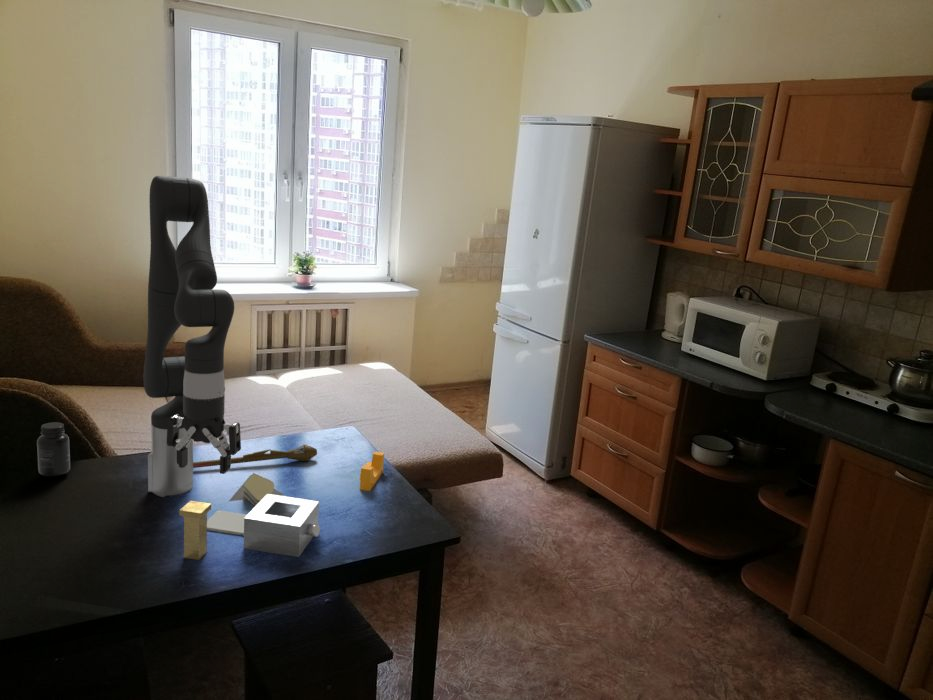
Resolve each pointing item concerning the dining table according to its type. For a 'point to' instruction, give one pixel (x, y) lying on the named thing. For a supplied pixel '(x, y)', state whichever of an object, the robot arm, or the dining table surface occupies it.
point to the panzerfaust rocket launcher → (267, 456)
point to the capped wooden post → (195, 529)
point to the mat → (227, 522)
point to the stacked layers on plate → (255, 489)
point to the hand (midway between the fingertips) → (203, 469)
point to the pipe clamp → (371, 471)
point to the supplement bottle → (53, 450)
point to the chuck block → (281, 525)
